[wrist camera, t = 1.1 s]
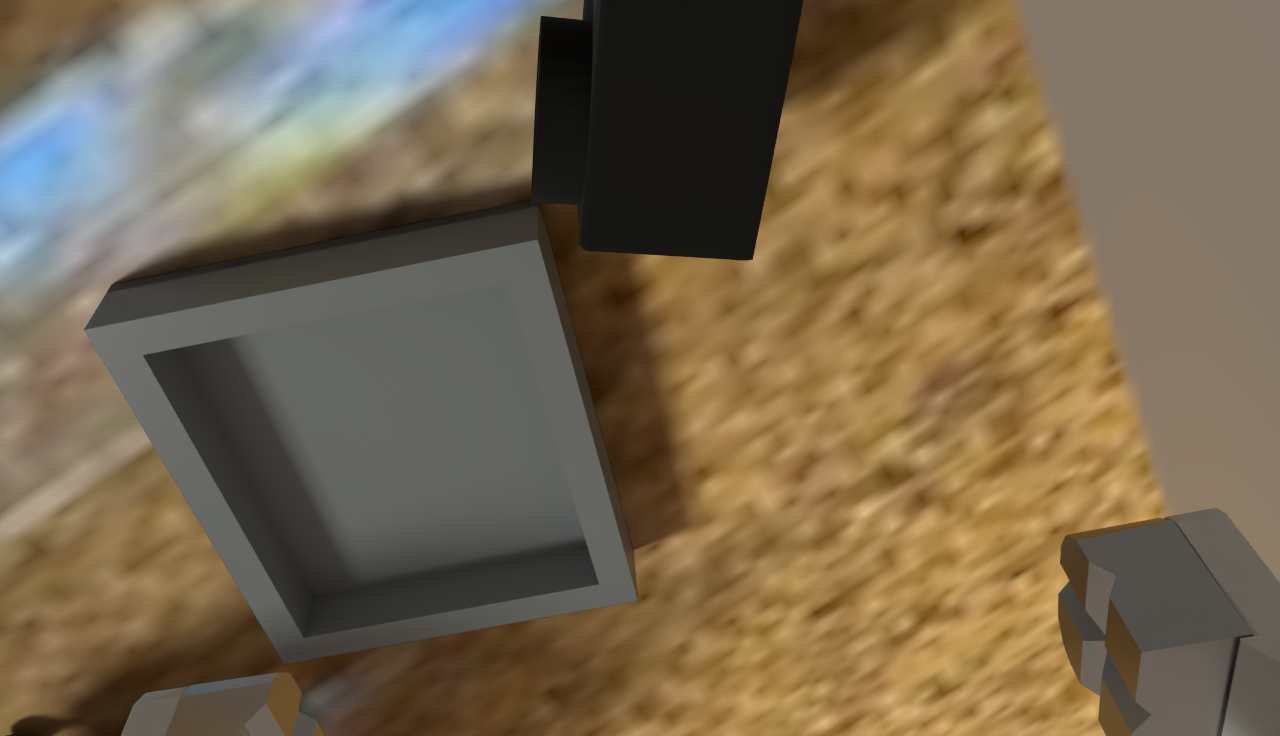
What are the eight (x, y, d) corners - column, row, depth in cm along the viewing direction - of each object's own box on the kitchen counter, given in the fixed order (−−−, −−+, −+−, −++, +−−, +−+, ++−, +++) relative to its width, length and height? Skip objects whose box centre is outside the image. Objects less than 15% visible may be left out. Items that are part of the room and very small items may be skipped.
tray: (111, 284, 33) (84, 330, 31) (538, 198, 33) (537, 239, 31) (296, 612, 43) (284, 664, 40) (633, 551, 42) (638, 600, 40)
